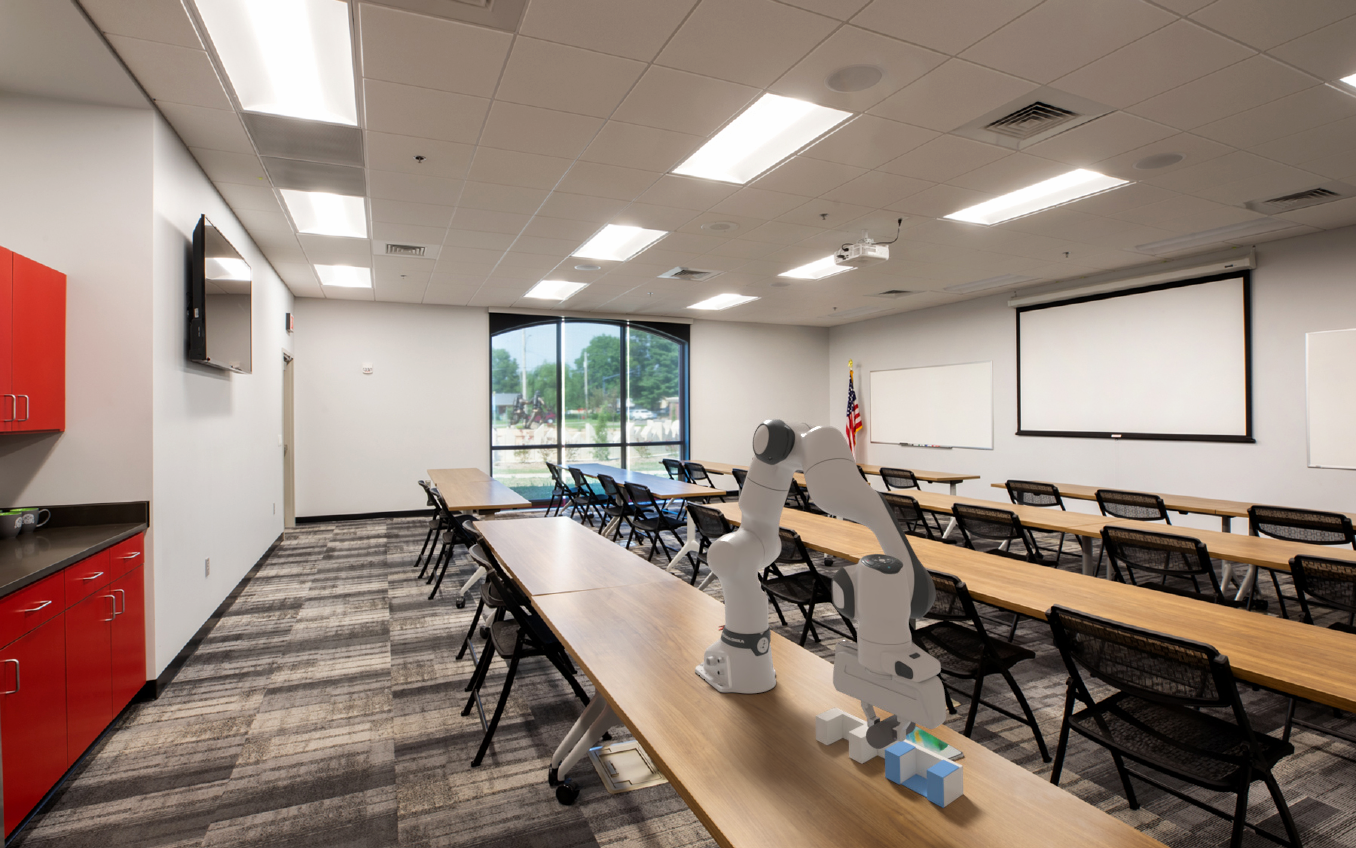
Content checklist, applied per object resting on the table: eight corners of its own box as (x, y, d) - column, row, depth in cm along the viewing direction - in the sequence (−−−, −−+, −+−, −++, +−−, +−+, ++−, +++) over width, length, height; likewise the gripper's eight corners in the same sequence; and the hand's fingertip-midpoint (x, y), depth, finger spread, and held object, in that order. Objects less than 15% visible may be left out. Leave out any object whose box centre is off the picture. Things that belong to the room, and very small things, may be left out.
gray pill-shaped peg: (861, 746, 104) (861, 725, 104) (901, 725, 111) (901, 705, 111) (879, 755, 101) (879, 734, 101) (920, 733, 108) (919, 712, 108)
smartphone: (939, 763, 118) (882, 729, 131) (939, 768, 118) (882, 733, 131) (965, 753, 121) (907, 720, 135) (965, 757, 121) (907, 724, 135)
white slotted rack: (815, 740, 128) (814, 715, 128) (835, 730, 132) (834, 706, 132) (943, 808, 105) (942, 777, 105) (963, 793, 109) (962, 764, 109)
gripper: (824, 640, 111) (826, 716, 111) (928, 676, 95) (930, 765, 95) (846, 632, 115) (848, 706, 115) (950, 665, 99) (952, 751, 99)
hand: (886, 733), depth 105 cm, fingers closed on gray pill-shaped peg, 4 cm apart
